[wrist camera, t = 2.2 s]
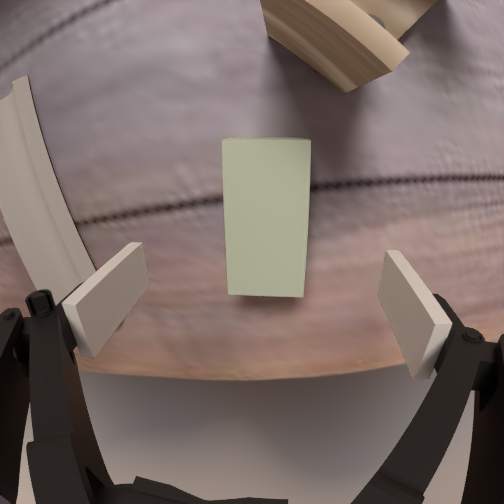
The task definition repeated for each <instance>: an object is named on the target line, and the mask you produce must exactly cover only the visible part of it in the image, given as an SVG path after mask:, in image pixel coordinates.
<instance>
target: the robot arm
mask: <svg viewBox="0 0 504 504" xmlns="http://www.w3.org/2000/svg"><path fill="white" fill-rule="evenodd" d="M148 287H149V280H148V274H147V268H146V262H145V256H144V249H143V243H142V242H130V243H129V244H128V245H127V246H126V247H124V248H123V249H122V250H121V251H120V252H118V253H117V254H116V255H115V256H114V257H113V258H111V259H110V260H109V261H108V262H107V263H106V264H104V265H103V266H102V267H101V268H100V269H99V270H97V271H96V272H95V273H94V274H93V275H92V276H91V277H90V278H88V279H87V280H86V281H84V282H82V283H81V284H79V285H78V286H77V287H75V288H74V289H73V291H71V292H70V293H69V295H67V296H66V297H65V298H63V299H62V300H61V301H60V302H59V303H58V304H57V305H55V302H54V299H53V296H52V293H51V291H50V290H48V289H41V290H37V291H35V292H33V293H31V294H29V295H28V296H27V297H26V300H25V301H26V304H27V307H28V309H29V312H30V315H31V317H24V318H23V316H22V314H21V311H20V309H18V308H11V309H10V308H9V309H7V310H5V311H4V312H3V313H1V314H0V504H16V499H17V495H18V486H19V473H20V461H21V453H22V445H23V438H24V431H25V425H26V419H27V414H28V408H29V403H30V405H31V418H32V427H33V437H34V441H33V442H28V443H27V446H26V449H27V450H26V451H27V458H28V465H29V471H30V477H31V482H32V487H33V492H34V496H35V501H36V504H288V499H263V498H250V497H247V498H238V499H228V500H213V501H207V500H203V499H201V498H198V497H195V496H193V495H191V494H189V493H187V492H184V491H182V490H180V489H178V488H176V487H173V486H171V485H169V484H164V483H160V482H156V481H152V480H149V479H145V478H141V477H138V476H136V478H135V480H134V483H133V484H118V485H114V483H113V482H112V480H111V478H110V476H109V474H108V472H107V469H106V466H105V464H104V461H103V458H102V456H101V452H100V450H99V447H98V444H97V440H96V437H95V434H94V431H93V428H92V424H91V421H90V418H89V414H88V410H87V406H86V402H85V398H84V394H83V391H82V386H81V382H80V377H79V372H78V367H77V362H76V357H75V354H74V352H73V350H74V348H75V347H76V346H78V349H79V351H80V354H81V356H85V357H89V358H93V359H95V358H96V356H97V355H98V353H99V352H100V351H101V349H102V348H103V347H104V345H105V344H106V342H107V341H108V340H109V338H110V337H111V336H112V334H113V333H114V332H115V330H116V329H117V328H118V326H119V325H120V324H121V322H122V321H123V320H124V318H125V317H126V316H127V314H128V313H129V312H130V311H131V309H132V308H133V307H134V305H135V304H136V303H137V301H138V300H139V299H140V298H141V296H142V295H143V294H144V293H145V291H146V290H147V289H148ZM377 296H378V298H379V300H380V302H381V305H382V307H383V309H384V311H385V313H386V316H387V318H388V320H389V323H390V325H391V327H392V329H393V332H394V334H395V336H396V339H397V341H398V344H399V346H400V348H401V351H402V353H403V356H404V358H405V361H406V363H407V366H408V369H409V371H410V374H411V376H412V379H413V380H422V379H429V378H430V376H431V374H432V372H433V369H434V368H435V370H436V372H437V376H436V378H435V380H434V382H433V384H432V386H431V387H430V389H429V391H428V393H427V395H426V397H425V399H424V401H423V402H422V404H421V406H420V408H419V409H418V411H417V413H416V414H415V416H414V418H413V419H412V421H411V423H410V425H409V426H408V428H407V429H406V431H405V432H404V434H403V435H402V437H401V439H400V440H399V442H398V443H397V444H396V446H395V448H394V449H393V450H392V452H391V453H390V455H389V456H388V457H387V459H386V460H385V462H384V463H383V465H382V466H381V467H380V468H379V470H378V471H377V472H376V473H375V475H374V476H373V477H372V479H371V480H370V481H369V482H368V483H367V485H366V486H365V487H364V489H363V490H362V491H361V492H360V493H359V495H358V496H357V497H356V498H355V499H354V500H353V502H352V503H351V504H422V503H423V500H424V496H423V494H424V492H425V490H426V488H427V486H428V485H429V483H430V481H431V479H432V478H433V476H434V474H435V472H436V470H437V468H438V466H439V464H440V462H441V461H442V458H443V457H444V455H445V452H446V450H447V448H448V446H449V444H450V442H451V440H452V437H453V435H454V433H455V431H456V428H457V426H458V423H459V421H460V419H461V416H462V413H463V411H464V408H465V406H466V403H467V400H468V397H469V394H470V392H471V390H475V399H474V419H473V432H472V442H471V451H470V458H469V464H468V471H467V476H466V482H465V487H464V492H463V496H462V501H461V504H504V334H502V335H501V336H500V338H499V341H498V343H493V342H486V341H485V339H484V337H483V335H482V334H481V333H480V332H479V331H477V330H475V329H473V328H469V327H465V326H464V325H463V324H462V322H461V321H460V319H459V318H458V317H457V315H456V314H455V312H454V311H453V310H452V308H451V307H450V306H449V304H448V303H447V301H446V300H445V299H444V298H442V297H441V296H439V295H438V294H432V293H431V292H430V291H429V289H428V288H427V287H426V285H425V284H424V282H423V281H422V280H421V278H420V277H419V276H418V275H417V273H416V272H415V271H414V269H413V268H412V267H411V265H410V264H409V263H408V262H407V260H406V259H405V258H404V257H403V255H402V254H401V253H400V252H399V250H386V251H385V257H384V263H383V269H382V274H381V280H380V285H379V290H378V295H377Z"/></svg>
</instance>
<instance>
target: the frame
mask: <svg viewBox="0 0 504 504" xmlns="http://www.w3.org/2000/svg"><path fill="white" fill-rule="evenodd" d="M437 1H438V0H260V2H261V7H262V11H263V16H264V20H265V25H266V30H267V35H268V36H270V37H271V38H273V39H274V40H275V41H277V42H278V43H280V44H281V45H283V46H284V47H285V48H287V49H288V50H289V51H291V52H292V53H293V54H295V55H296V56H297V57H299V58H300V59H301V60H303V61H304V62H305V63H307V64H308V65H309V66H310V67H312V68H313V69H314V70H315V71H317V72H318V73H319V74H320V75H321V76H323V77H324V78H325V79H326V80H327V81H329V82H330V83H331V84H332V85H333V86H334V87H336V88H337V89H338V90H339V91H340V92H341V93H342V94H345V93H347V92H349V91H351V90H353V89H355V88H358V87H360V86H362V85H364V84H366V83H368V82H370V81H372V80H374V79H376V78H379V77H381V76H383V75H385V74H387V73H390V72H392V71H393V70H394V69H395V68H396V67H397V66H398V65H399V64H400V63H401V62H402V60H403V59H404V58H405V57H406V56H407V55H408V54H409V53H410V52H409V51H408V50H407V49H406V48H405V47H404V46H403V45H402V44H401V43H400V42H398V41H397V40H398V39H399V38H400V37H401V36H402V35H403V34H404V33H405V32H406V31H407V30H408V29H409V28H410V27H411V26H412V25H413V24H414V23H415V22H416V21H417V20H418V19H419V18H420V17H421V16H422V15H423V14H424V13H425V12H426V11H427V10H428V9H429V8H430V7H431V6H432V5H434V4H435V3H436V2H437Z"/></svg>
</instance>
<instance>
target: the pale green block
mask: <svg viewBox="0 0 504 504" xmlns="http://www.w3.org/2000/svg"><path fill="white" fill-rule="evenodd" d="M310 164H311V140H309V139H307V138H298V137H232V138H227V139H223V140H222V167H223V196H224V221H225V243H226V264H227V282H228V294H231V295H252V296H278V297H303V293H304V281H305V267H306V253H307V236H308V217H309V195H310Z"/></svg>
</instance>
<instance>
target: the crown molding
mask: <svg viewBox="0 0 504 504" xmlns="http://www.w3.org/2000/svg"><path fill="white" fill-rule="evenodd" d="M12 83H13V87H12V90H11V91H10V93H9V94H8V95H7V96H6V97H4V98H3V99H2V100H0V209H1V212H2V215H3V217H4V220H5V222H6V225H7V228H8V230H9V232H10V235H11V237H12V239H13V242H14V244H15V246H16V249H17V251H18V253H19V255H20V257H21V259H22V262H23V264H24V266H25V268H26V270H27V272H28V274H29V276H30V278H31V280H32V282H33V284H34V285H35V287H36V289H37V290H41V289H48V290H50V291H51V293H52V296H53V299H54V302H55V305H57V304H58V303H59V302H60V301H61V300H62V299H63V298H65V297H66V296H67V295H69V293H70V292H71V291H73V289H74V288H75V287H77V286H78V285H79V284H81V283H82V282H84V281H86V280H87V279H88V278H90V277H91V276H92V275H93V274H94V273H95V272H96V270H95V268H94V266H93V264H92V262H91V260H90V258H89V256H88V254H87V251H86V249H85V247H84V245H83V243H82V241H81V238H80V236H79V234H78V232H77V229H76V227H75V225H74V223H73V220H72V218H71V215H70V213H69V211H68V208H67V206H66V203H65V201H64V198H63V196H62V193H61V190H60V188H59V185H58V182H57V180H56V177H55V174H54V171H53V168H52V165H51V162H50V159H49V156H48V153H47V150H46V147H45V144H44V140H43V137H42V134H41V130H40V127H39V123H38V119H37V116H36V112H35V108H34V104H33V100H32V95H31V91H30V86H29V82H28V77H27V75H26V76H23V77H21V78H19V79H16V80H14V81H12Z"/></svg>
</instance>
